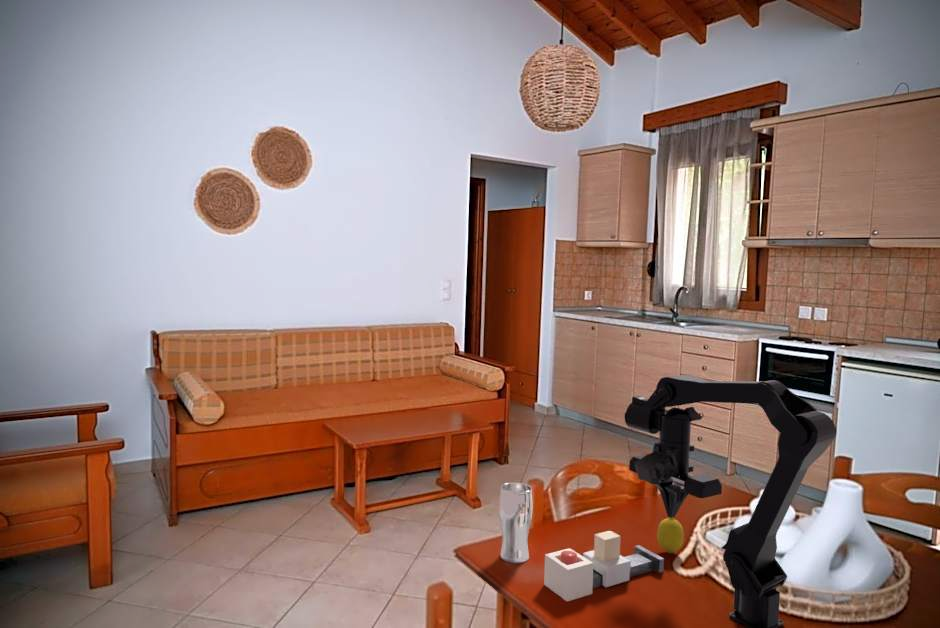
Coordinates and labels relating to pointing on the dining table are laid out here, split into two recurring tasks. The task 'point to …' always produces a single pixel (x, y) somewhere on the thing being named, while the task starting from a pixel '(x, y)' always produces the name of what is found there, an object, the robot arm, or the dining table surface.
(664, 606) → the dining table surface
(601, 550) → the carriage
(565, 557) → the red cylinder
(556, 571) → the white open box
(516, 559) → the beer glass
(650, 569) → the rail
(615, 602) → the dining table surface
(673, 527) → the lemon
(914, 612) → the dining table surface
